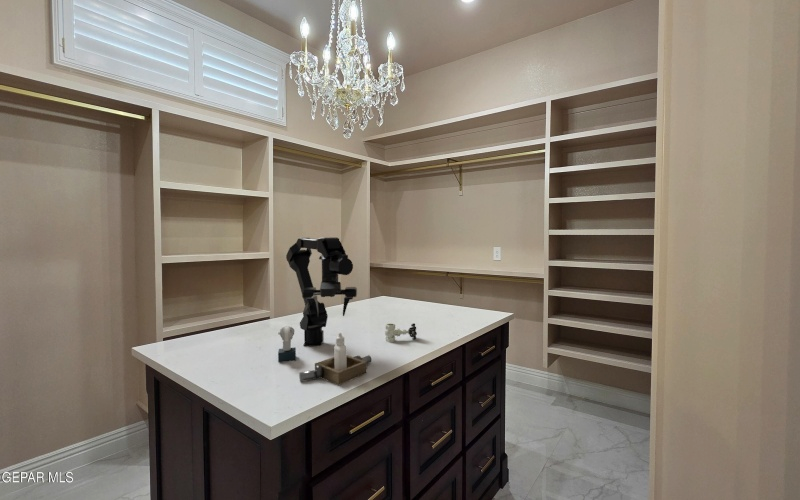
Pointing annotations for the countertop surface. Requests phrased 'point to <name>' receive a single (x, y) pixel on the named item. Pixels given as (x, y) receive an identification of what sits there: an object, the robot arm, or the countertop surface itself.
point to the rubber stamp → (286, 345)
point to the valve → (399, 332)
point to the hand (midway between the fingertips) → (330, 316)
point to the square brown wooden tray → (339, 377)
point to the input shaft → (365, 358)
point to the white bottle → (340, 354)
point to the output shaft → (311, 374)
